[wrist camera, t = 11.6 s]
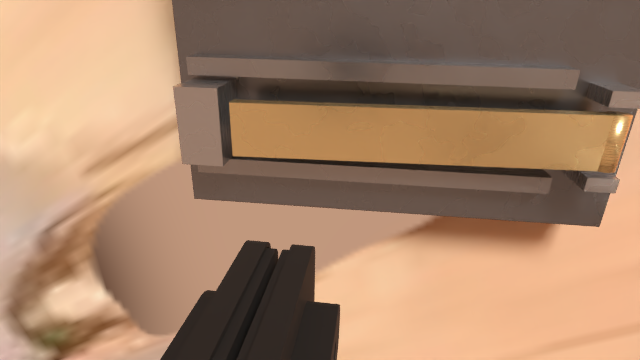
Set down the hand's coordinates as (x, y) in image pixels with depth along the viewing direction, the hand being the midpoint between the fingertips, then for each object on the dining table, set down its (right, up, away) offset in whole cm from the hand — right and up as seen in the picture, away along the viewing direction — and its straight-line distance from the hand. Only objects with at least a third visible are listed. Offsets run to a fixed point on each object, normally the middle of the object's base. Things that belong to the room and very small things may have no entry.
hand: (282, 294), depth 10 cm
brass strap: (+6, +5, +12) cm, 15 cm away
